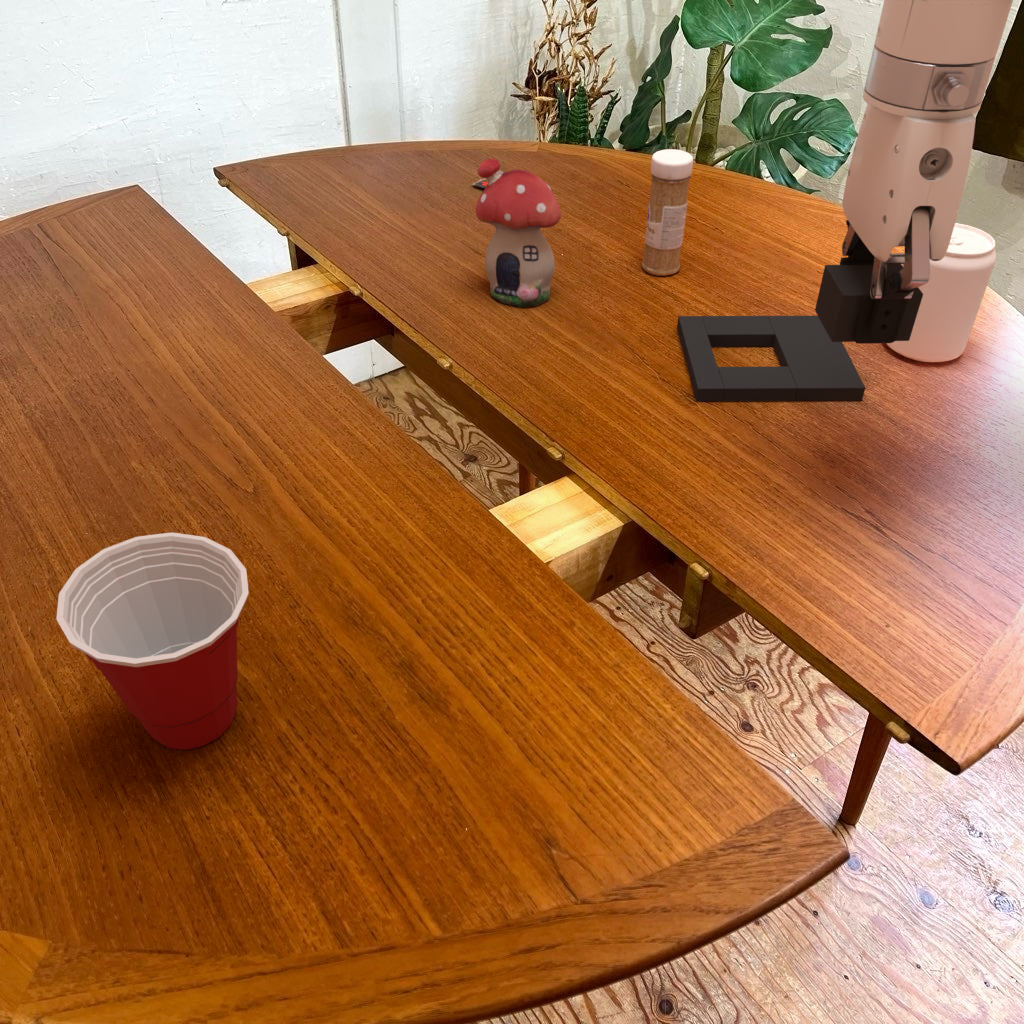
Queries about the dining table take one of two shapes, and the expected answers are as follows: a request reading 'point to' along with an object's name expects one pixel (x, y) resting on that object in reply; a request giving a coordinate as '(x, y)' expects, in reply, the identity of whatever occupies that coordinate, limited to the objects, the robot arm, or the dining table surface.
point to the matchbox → (481, 183)
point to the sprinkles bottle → (667, 211)
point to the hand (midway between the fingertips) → (862, 320)
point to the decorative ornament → (517, 234)
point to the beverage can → (951, 298)
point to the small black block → (855, 300)
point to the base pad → (802, 376)
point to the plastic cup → (162, 631)
